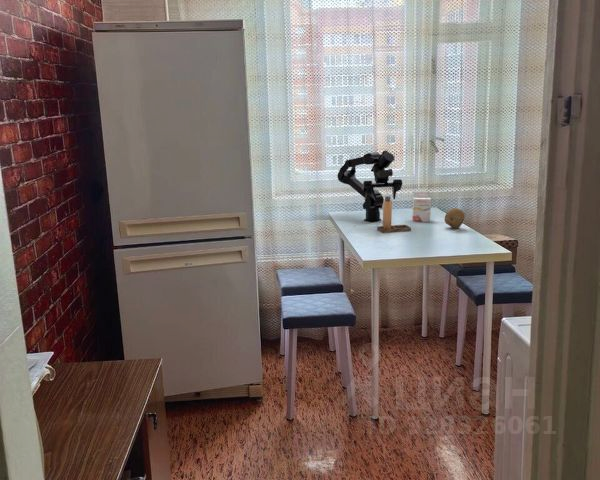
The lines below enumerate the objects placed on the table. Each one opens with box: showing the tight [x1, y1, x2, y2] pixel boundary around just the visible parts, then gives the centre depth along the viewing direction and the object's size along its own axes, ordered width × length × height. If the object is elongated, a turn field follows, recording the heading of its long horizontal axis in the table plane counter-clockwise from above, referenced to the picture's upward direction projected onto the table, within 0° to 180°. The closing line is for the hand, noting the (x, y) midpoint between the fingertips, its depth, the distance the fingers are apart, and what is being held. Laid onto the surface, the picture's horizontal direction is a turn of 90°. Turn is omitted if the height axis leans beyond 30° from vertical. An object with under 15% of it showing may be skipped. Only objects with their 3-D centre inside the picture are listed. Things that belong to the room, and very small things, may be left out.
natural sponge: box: [444, 207, 466, 230], centre depth 293 cm, size 9×9×10 cm
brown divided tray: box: [376, 224, 412, 234], centre depth 292 cm, size 14×7×2 cm, turn 103°
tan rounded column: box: [382, 195, 393, 229], centre depth 289 cm, size 4×4×16 cm
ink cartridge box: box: [412, 190, 432, 223], centre depth 311 cm, size 9×5×15 cm, turn 84°
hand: (385, 199), depth 297 cm, fingers open, 9 cm apart
